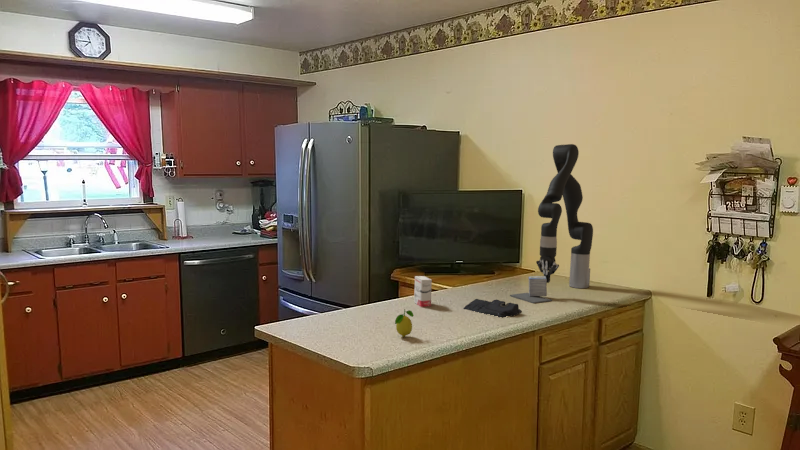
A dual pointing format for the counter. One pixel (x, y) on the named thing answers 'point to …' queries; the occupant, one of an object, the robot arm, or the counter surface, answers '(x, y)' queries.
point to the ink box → (422, 291)
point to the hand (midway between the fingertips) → (546, 282)
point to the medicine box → (537, 286)
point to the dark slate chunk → (493, 307)
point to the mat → (530, 298)
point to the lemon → (404, 323)
